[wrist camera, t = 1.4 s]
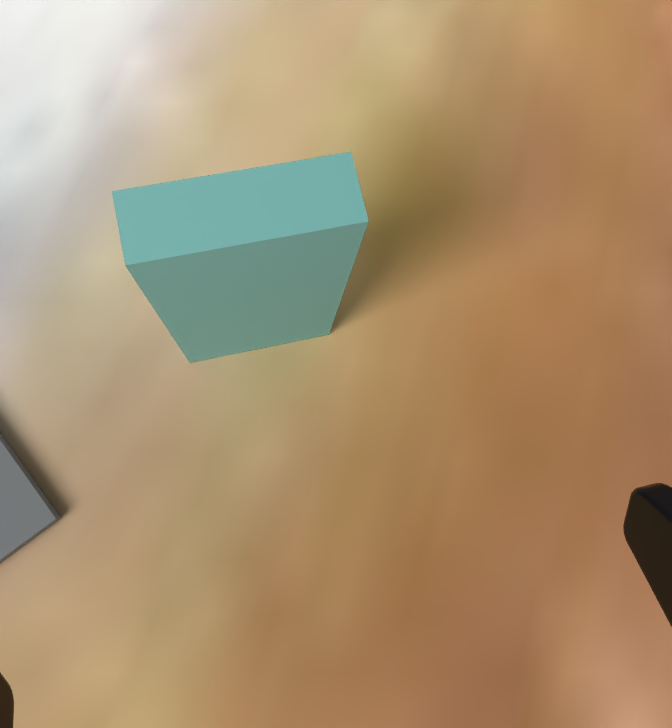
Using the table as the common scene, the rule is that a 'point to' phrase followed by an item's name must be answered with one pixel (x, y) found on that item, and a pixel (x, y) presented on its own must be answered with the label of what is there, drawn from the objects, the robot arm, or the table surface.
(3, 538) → the mat
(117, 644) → the table surface
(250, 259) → the teal domino
